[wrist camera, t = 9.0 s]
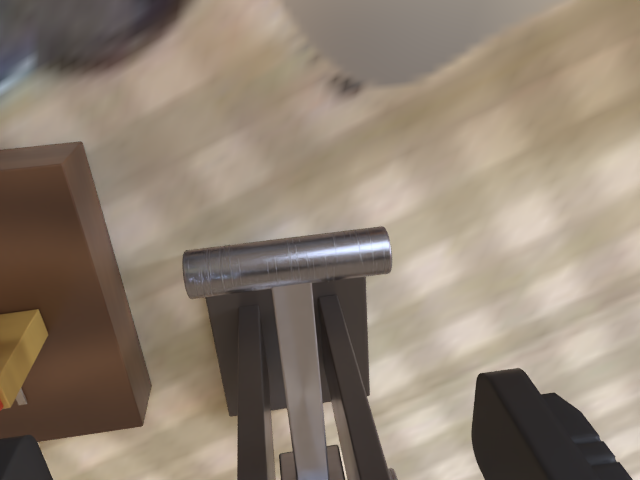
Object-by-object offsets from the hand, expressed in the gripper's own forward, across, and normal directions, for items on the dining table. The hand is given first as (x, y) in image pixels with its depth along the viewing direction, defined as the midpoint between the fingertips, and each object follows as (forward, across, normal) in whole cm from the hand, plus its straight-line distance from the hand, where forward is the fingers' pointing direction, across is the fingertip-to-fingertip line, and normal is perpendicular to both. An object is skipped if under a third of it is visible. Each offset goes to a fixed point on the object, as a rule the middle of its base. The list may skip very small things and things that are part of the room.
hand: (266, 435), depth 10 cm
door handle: (+7, -1, +5) cm, 8 cm away
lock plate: (+17, +12, +6) cm, 21 cm away
